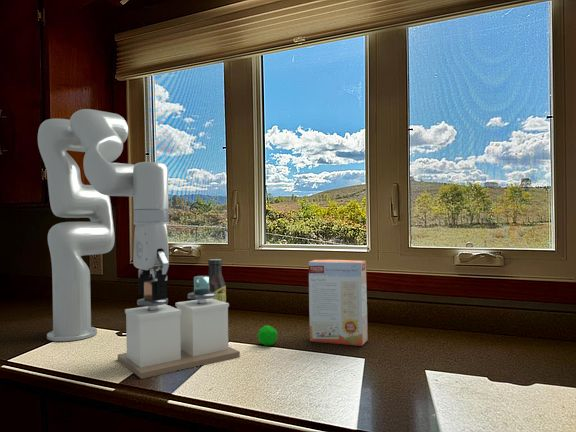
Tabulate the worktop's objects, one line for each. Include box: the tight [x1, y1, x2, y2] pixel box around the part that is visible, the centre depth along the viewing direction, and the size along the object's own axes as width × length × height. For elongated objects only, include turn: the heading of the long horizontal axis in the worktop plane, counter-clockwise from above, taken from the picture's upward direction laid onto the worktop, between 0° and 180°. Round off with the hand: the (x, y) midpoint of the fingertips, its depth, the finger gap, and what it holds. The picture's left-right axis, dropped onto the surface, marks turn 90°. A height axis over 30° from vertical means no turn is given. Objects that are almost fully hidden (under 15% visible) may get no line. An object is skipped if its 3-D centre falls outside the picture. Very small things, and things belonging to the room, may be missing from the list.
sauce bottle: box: [207, 258, 227, 303], centre depth 136 cm, size 7×6×20 cm
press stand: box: [117, 298, 241, 380], centre depth 106 cm, size 16×23×12 cm
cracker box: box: [308, 259, 369, 347], centre depth 118 cm, size 14×6×21 cm, turn 67°
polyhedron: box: [257, 324, 278, 347], centre depth 116 cm, size 5×5×5 cm
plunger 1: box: [136, 281, 169, 311], centre depth 103 cm, size 7×7×14 cm
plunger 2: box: [187, 275, 216, 304], centre depth 110 cm, size 7×7×14 cm
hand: (152, 296), depth 103 cm, fingers open, 7 cm apart
